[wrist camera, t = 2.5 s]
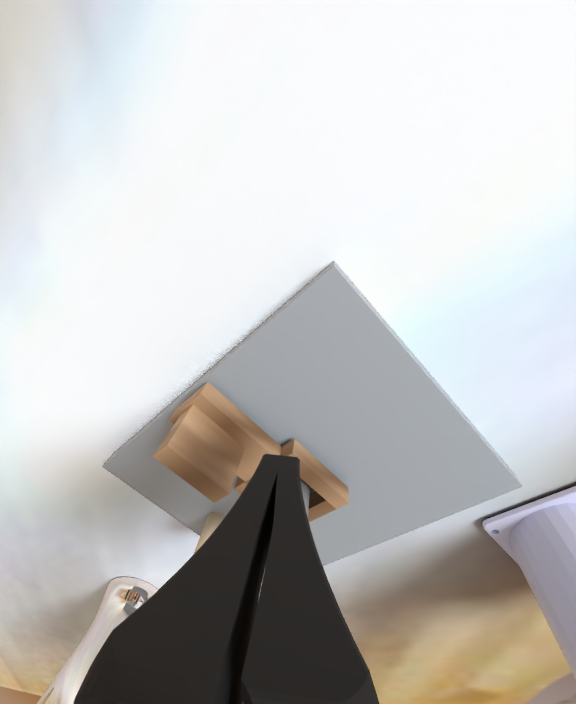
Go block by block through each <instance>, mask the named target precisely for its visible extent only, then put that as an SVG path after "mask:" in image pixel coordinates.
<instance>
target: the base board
mask: <svg viewBox="0 0 576 704" xmlns="http://www.w3.org/2000/svg"><path fill="white" fill-rule="evenodd" d="M207 382H209V383H210V384H211V385H213V386H214V387H215V388H216V389H217V390H218V391H219V392H220V393H222V394H223V395H224V396H225V397H226V398H227V399H228V400H229V401H231V402H232V403H233V404H234V405H235V406H236V407H237V408H239V409H240V410H241V411H242V412H243V413H244V414H245V415H246V416H248V417H249V418H250V419H251V420H252V421H253V422H254V423H256V424H257V425H258V426H259V427H260V428H261V429H262V430H263V431H265V432H266V433H267V434H268V435H269V436H270V437H271V438H272V439H274V440H275V441H276V442H277V443H278V444H279V445H280V446H284V445H285V444H287V443H289V442H290V441H292V440H293V439H296V440H297V441H298V442H299V443H300V444H301V445H302V446H303V447H304V448H305V449H307V450H308V451H309V452H310V453H311V454H312V455H313V456H314V457H315V458H317V459H318V460H319V461H320V462H321V463H322V464H323V465H324V466H325V467H326V468H328V469H329V470H330V471H331V472H332V473H333V474H334V475H335V476H336V477H337V478H339V479H340V480H341V481H342V482H343V483H344V484H345V485H346V486H347V487H348V493H349V504H346V505H344V506H342V507H340V508H338V509H336V510H334V511H332V512H330V513H328V514H326V515H323V516H321V517H319V518H317V519H315V520H313V521H311V522H309V525H310V529H311V532H312V536H313V539H314V542H315V545H316V549H317V552H318V555H319V557H320V560H321V563H322V566H324V565H326V564H329V563H331V562H334V561H336V560H339V559H342V558H344V557H347V556H349V555H352V554H354V553H357V552H359V551H362V550H364V549H367V548H369V547H372V546H374V545H377V544H379V543H382V542H384V541H387V540H389V539H392V538H394V537H397V536H399V535H402V534H404V533H407V532H409V531H412V530H414V529H417V528H419V527H422V526H425V525H427V524H430V523H432V522H435V521H437V520H440V519H442V518H445V517H447V516H450V515H452V514H455V513H457V512H460V511H462V510H465V509H467V508H470V507H472V506H475V505H477V504H480V503H482V502H485V501H487V500H490V499H492V498H495V497H497V496H500V495H502V494H505V493H508V492H510V491H513V490H515V489H518V488H520V487H522V485H521V484H520V482H519V481H518V479H517V478H516V476H515V474H514V473H513V471H512V470H511V469H510V468H509V467H508V465H507V464H506V463H505V462H504V461H503V460H502V458H501V457H500V456H499V455H498V454H497V452H496V451H495V450H494V449H493V448H492V447H491V445H490V444H489V443H488V442H487V441H486V439H485V438H484V437H483V436H482V435H481V434H480V432H479V431H478V430H477V429H476V428H475V426H474V425H473V424H472V423H471V422H470V421H469V419H468V418H467V417H466V416H465V415H464V413H463V412H462V411H461V410H460V409H459V408H458V406H457V405H456V404H455V403H454V402H453V401H452V399H451V398H450V397H449V396H448V395H447V393H446V392H445V391H444V390H443V389H442V388H441V386H440V385H439V384H438V383H437V382H436V380H435V379H434V378H433V377H432V376H431V375H430V373H429V372H428V371H427V370H426V369H425V367H424V366H423V365H422V364H421V363H420V362H419V360H418V359H417V358H416V357H415V356H414V355H413V353H412V352H411V351H410V350H409V349H408V347H407V346H406V345H405V344H404V343H403V342H402V340H401V339H400V338H399V337H398V336H397V334H396V333H395V332H394V331H393V330H392V329H391V327H390V326H389V325H388V324H387V323H386V321H385V320H384V319H383V318H382V317H381V316H380V314H379V313H378V312H377V311H376V310H375V308H374V307H373V306H372V305H371V304H370V303H369V301H368V300H367V299H366V298H365V297H364V296H363V294H362V293H361V292H360V291H359V290H358V288H357V287H356V286H355V285H354V284H353V283H352V281H351V280H350V279H349V278H348V277H347V275H346V274H345V273H344V272H343V271H342V270H341V268H340V267H339V266H338V265H337V264H336V262H335V261H333V262H332V263H331V264H330V265H329V266H328V267H326V268H325V269H324V270H323V271H322V272H321V273H320V274H318V275H317V276H316V277H315V278H314V279H313V280H312V281H310V282H309V283H308V284H307V285H306V286H305V287H304V288H302V289H301V290H300V291H299V292H298V293H297V294H296V295H294V296H293V297H292V298H291V299H290V300H289V301H288V302H286V303H285V304H284V305H283V306H282V307H281V308H280V309H278V310H277V311H276V312H275V313H274V314H273V315H272V316H270V317H269V318H268V319H267V320H266V321H265V322H264V323H262V324H261V325H260V326H259V327H258V328H257V329H256V330H254V331H253V332H252V333H251V334H250V335H249V336H248V337H246V338H245V339H244V340H243V341H242V342H241V343H239V344H238V345H237V346H236V347H235V348H234V349H233V350H231V351H230V352H229V353H228V354H227V355H226V356H225V357H223V358H222V359H221V360H220V361H219V362H218V363H217V364H215V365H214V366H213V367H212V368H211V369H210V370H209V371H207V372H206V373H205V374H204V375H203V376H202V377H201V378H199V379H198V380H197V381H196V382H195V383H194V384H193V385H191V386H190V387H189V388H188V389H187V390H186V391H185V392H183V393H182V394H181V395H180V396H179V397H178V398H177V399H175V400H174V401H173V402H172V403H171V404H170V405H169V406H167V407H166V408H165V409H164V410H163V411H162V412H161V413H159V414H158V415H157V416H156V417H155V418H154V419H153V420H151V421H150V422H149V423H148V424H147V425H146V426H145V427H143V428H142V429H141V430H140V431H139V432H138V433H136V434H135V435H134V436H133V437H132V438H131V439H130V440H128V441H127V442H126V443H125V444H124V445H123V446H122V447H120V448H119V449H118V450H117V451H116V452H115V453H114V454H112V456H111V457H110V458H109V459H108V460H107V462H106V463H105V464H104V465H103V467H104V468H105V469H106V470H108V471H109V472H111V473H112V474H113V475H115V476H116V477H118V478H119V479H120V480H122V481H123V482H125V483H126V484H128V485H129V486H130V487H132V488H133V489H135V490H136V491H137V492H139V493H140V494H142V495H143V496H145V497H146V498H147V499H149V500H150V501H152V502H153V503H154V504H156V505H157V506H159V507H160V508H161V509H163V510H164V511H166V512H167V513H169V514H170V515H171V516H173V517H174V518H176V519H177V520H178V521H180V522H181V523H183V524H184V525H185V526H187V527H188V528H190V529H191V530H193V531H194V532H195V533H197V534H198V535H200V539H199V541H198V544H197V547H196V549H195V552H194V554H195V553H196V551H197V550H198V549H199V548H200V547H201V546H202V545H203V544H204V543H205V541H206V540H207V539H208V538H209V537H210V535H211V534H212V533H213V532H214V531H215V529H216V528H217V527H218V526H219V524H220V523H221V522H222V520H223V519H224V518H225V516H226V515H227V514H228V512H229V511H230V510H231V508H232V507H233V505H234V504H235V503H236V501H237V500H238V498H239V497H240V495H241V494H240V493H238V492H237V491H236V490H235V489H234V487H235V484H236V480H237V477H238V476H237V475H236V476H235V479H234V482H233V485H232V488H231V491H230V494H228V495H227V496H225V497H223V498H222V499H220V500H219V501H217V502H215V503H214V502H212V501H211V500H210V499H208V498H207V497H206V496H204V495H203V494H202V493H200V492H199V491H198V490H196V489H195V488H194V487H192V486H191V485H190V484H188V483H187V482H186V481H184V480H183V479H182V478H180V477H179V476H178V475H176V474H175V473H174V472H172V471H171V470H170V469H168V468H167V467H166V466H165V465H163V464H162V463H161V462H159V461H158V460H157V459H155V458H154V457H153V455H154V454H155V452H156V451H157V449H158V448H159V446H160V445H161V443H162V442H163V440H164V439H165V437H166V436H167V434H168V433H169V431H170V430H171V428H172V427H173V425H174V424H173V423H172V422H170V421H169V419H170V418H171V416H172V415H173V413H174V412H175V410H176V409H177V408H178V407H179V406H180V405H181V404H182V403H183V402H185V401H186V400H187V399H188V398H189V397H190V396H192V395H193V394H194V393H195V392H196V391H197V390H199V389H200V388H201V387H202V386H203V385H204V384H206V383H207ZM300 481H301V488H302V494H303V499H304V504H305V509H306V513H307V517H308V510H309V496H310V493H312V492H314V491H315V490H314V489H313V488H311V487H310V486H309V485H308V484H307V483H306V482H304V481H303V480H302V479H301V478H300ZM265 567H266V566H265ZM264 572H265V571H264ZM263 576H264V575H263ZM262 580H263V579H262Z"/></svg>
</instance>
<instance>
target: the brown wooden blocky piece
mask: <svg viewBox="0 0 576 704" xmlns="http://www.w3.org/2000/svg"><path fill="white" fill-rule="evenodd" d="M169 421H170V422H172V423H173V424H174V425H173V427H172V428H171V430H170V431H169V433H168V434H167V436H166V437H165V439H164V440H163V442H162V443H161V445H160V446H159V448H158V449H157V451H156V452H155V454H154V455H153V457H154V458H155V459H157V460H158V461H159V462H161V463H162V464H163V465H165V466H166V467H167V468H168V469H170V470H171V471H172V472H174V473H175V474H176V475H178V476H179V477H180V478H182V479H183V480H184V481H186V482H187V483H188V484H190V485H191V486H192V487H194V488H195V489H196V490H198V491H199V492H200V493H202V494H203V495H204V496H206V497H207V498H208V499H210V500H211V501H212V502H214V503H215V502H217V501H219V500H220V499H222V498H223V497H225V496H227V495H228V494H230V491H231V488H232V485H233V482H234V479H235V476H236V475H237V476H238V477H237V480H236V484H235V487H234V489H235V490H236V491H237V492H238V493H240V494H242V492H243V490H244V489H245V487H246V486H247V484H248V483H249V481H250V479H251V478H252V476H253V474H254V472H255V471H256V469H257V467H258V465H259V463H260V461H261V459H262V456H263V455H265V454H273V455H282V456H291V457H298V458H299V459H300V478H301V479H302V480H303V481H304V482H306V483H307V484H308V485H309V486H310V487H311V488H313V489H314V490H315V491H314V492H312V493H310V496H309V510H308V521H309V522H311V521H313V520H315V519H317V518H319V517H321V516H323V515H326V514H328V513H330V512H332V511H334V510H336V509H338V508H340V507H342V506H344V505H346V504H349V493H348V487H347V486H346V485H345V484H344V483H343V482H342V481H341V480H340V479H339V478H337V477H336V476H335V475H334V474H333V473H332V472H331V471H330V470H329V469H328V468H326V467H325V466H324V465H323V464H322V463H321V462H320V461H319V460H318V459H317V458H315V457H314V456H313V455H312V454H311V453H310V452H309V451H308V450H307V449H305V448H304V447H303V446H302V445H301V444H300V443H299V442H298V441H297V440H296V439H293V440H292V441H290V442H289V443H287V444H285V445H284V446H280V445H279V444H278V443H277V442H276V441H275V440H274V439H272V438H271V437H270V436H269V435H268V434H267V433H266V432H265V431H263V430H262V429H261V428H260V427H259V426H258V425H257V424H256V423H254V422H253V421H252V420H251V419H250V418H249V417H248V416H246V415H245V414H244V413H243V412H242V411H241V410H240V409H239V408H237V407H236V406H235V405H234V404H233V403H232V402H231V401H229V400H228V399H227V398H226V397H225V396H224V395H223V394H222V393H220V392H219V391H218V390H217V389H216V388H215V387H214V386H213V385H211V384H210V383H209V382H207V383H206V384H204V385H203V386H202V387H201V388H200V389H199V390H197V391H196V392H195V393H194V394H193V395H192V396H190V397H189V398H188V399H187V400H186V401H185V402H183V403H182V404H181V405H180V406H179V407H178V408H177V409H176V410H175V412H174V413H173V415H172V416H171V418H170V419H169Z"/></svg>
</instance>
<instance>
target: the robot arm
mask: <svg viewBox="0 0 576 704" xmlns="http://www.w3.org/2000/svg"><path fill="white" fill-rule="evenodd" d="M482 525H483V528H484V530H485V531H486V532H487V533H488V534H489V535H490V536H491V537H492V538H493V539H494V540H495V541H496V542H497V543H498V544H499V545H500V546H501V547H502V548H503V549H504V550H505V551H506V553H507V554H508V555H509V556H510V557H511V558H512V559H513V560H514V561H515V562H516V563H517V564H518V565H519V566H520V568H521V570H522V572H523V574H524V576H525V578H526V580H527V582H528V584H529V586H530V588H531V590H532V592H533V594H534V596H535V598H536V600H537V602H538V604H539V606H540V608H541V610H542V612H543V614H544V616H545V618H546V620H547V622H548V625H549V627H550V629H551V631H552V633H553V635H554V637H555V639H556V641H557V643H558V645H559V647H560V649H561V651H562V653H563V655H564V657H565V659H566V661H567V663H568V665H569V667H570V669H571V671H572V673H573V675H574V677H575V679H576V486H574V487H571V488H569V489H566V490H563V491H560V492H558V493H555V494H552V495H550V496H547V497H544V498H542V499H539V500H536V501H534V502H531V503H528V504H526V505H523V506H520V507H518V508H515V509H512V510H510V511H507V512H504V513H502V514H499V515H496V516H494V517H491V518H488V519H486V520H484V521H483V522H482ZM265 566H266V567H265ZM264 571H265V572H264ZM263 575H264V576H263ZM262 579H263V581H262ZM261 583H262V586H261ZM260 588H261V591H260ZM259 593H260V596H259ZM258 599H259V600H258ZM73 703H74V704H379V701H378V698H377V694H376V691H375V688H374V685H373V681H372V678H371V675H370V672H369V669H368V667H367V665H366V663H365V661H364V659H363V657H362V655H361V653H360V651H359V649H358V647H357V645H356V643H355V641H354V639H353V637H352V635H351V633H350V631H349V628H348V626H347V624H346V622H345V620H344V618H343V615H342V613H341V611H340V608H339V606H338V604H337V601H336V599H335V596H334V594H333V592H332V589H331V587H330V584H329V582H328V580H327V577H326V574H325V571H324V569H323V566H322V563H321V560H320V557H319V555H318V552H317V549H316V545H315V542H314V539H313V536H312V532H311V529H310V525H309V521H308V517H307V513H306V509H305V504H304V499H303V494H302V488H301V481H300V459H299V458H298V457H291V456H282V455H273V454H265V455H263V456H262V459H261V461H260V463H259V465H258V467H257V469H256V471H255V472H254V474H253V476H252V478H251V479H250V481H249V483H248V484H247V486H246V487H245V489H244V490H243V492H242V494H241V495H240V497H239V498H238V500H237V501H236V503H235V504H234V505H233V507H232V508H231V510H230V511H229V512H228V514H227V515H226V516H225V518H224V519H223V520H222V522H221V523H220V524H219V526H218V527H217V528H216V529H215V531H214V532H213V533H212V534H211V535H210V537H209V538H208V539H207V540H206V541H205V543H204V544H203V545H202V546H201V547H200V548H199V549H198V550H197V551H196V553H195V554H194V555H193V556H192V557H191V558H190V559H189V560H188V561H187V562H186V563H185V564H184V565H183V566H182V568H181V569H180V570H179V571H178V572H177V573H176V574H175V575H173V576H172V577H171V578H170V579H169V580H168V581H167V582H166V583H165V584H164V585H163V586H162V587H161V588H160V589H159V590H158V591H157V592H156V593H155V594H154V595H153V596H151V597H150V598H149V599H148V600H147V601H146V602H145V603H144V604H142V605H141V606H140V607H139V608H138V609H137V610H135V611H134V612H133V613H132V614H131V615H130V616H128V617H127V618H126V619H125V620H124V621H123V622H121V623H120V624H119V625H118V626H117V627H115V628H114V629H113V631H112V632H111V633H110V635H109V636H108V638H107V639H106V641H105V643H104V644H103V646H102V647H101V649H100V651H99V652H98V654H97V656H96V657H95V659H94V661H93V662H92V664H91V666H90V668H89V670H88V672H87V674H86V676H85V678H84V680H83V682H82V684H81V686H80V689H79V691H78V693H77V695H76V697H75V699H74V702H73Z"/></svg>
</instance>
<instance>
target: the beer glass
mask: <svg viewBox="0 0 576 704" xmlns="http://www.w3.org/2000/svg"><path fill="white" fill-rule="evenodd" d="M157 591H158V589H157V588H156V587H154V586H153V585H151V584H149V583H147V582H145V581H143V580H140V579H136V578H132V577H118V578H115V579H113V580H112V581H111V582H110V583H109V585H108V587H107V589H106V592H105V594H104V597H103V600H102V602H101V605H100V607H99V610H98V612H97V614H96V616H95V618H94V620H93V622H92V624H91V626H90V627H89V629H88V631H87V632H86V634H85V636H84V637H83V638H82V640H81V641H80V643H79V644H78V646H77V647H76V649H75V650H74V651H73V653H72V654H71V655H70V657H69V658H68V660H67V661H66V662H65V664H64V665H63V667H62V668H61V669H60V671H59V672H58V674H57V675H56V676H55V678H54V679H53V681H52V682H51V683H50V685H49V686H48V688H47V689H46V691H45V692H44V694H43V695H42V697H41V698H40V700H39V701H38V703H37V704H74V703H73V702H74V699H75V697H76V695H77V693H78V691H79V689H80V686H81V684H82V682H83V680H84V678H85V676H86V674H87V672H88V670H89V668H90V666H91V664H92V662H93V661H94V659H95V657H96V656H97V654H98V652H99V651H100V649H101V647H102V646H103V644H104V643H105V641H106V639H107V638H108V636H109V635H110V633H111V632H112V631H113V629H114V628H115V627H117V626H118V625H119V624H120V623H121V622H123V621H124V620H125V619H126V618H127V617H128V616H130V615H131V614H132V613H133V612H134V611H135V610H137V609H138V608H139V607H140V606H141V605H142V604H144V603H145V602H146V601H147V600H148V599H149V598H150V597H151V596H153V595H154V594H155V593H156V592H157Z"/></svg>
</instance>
